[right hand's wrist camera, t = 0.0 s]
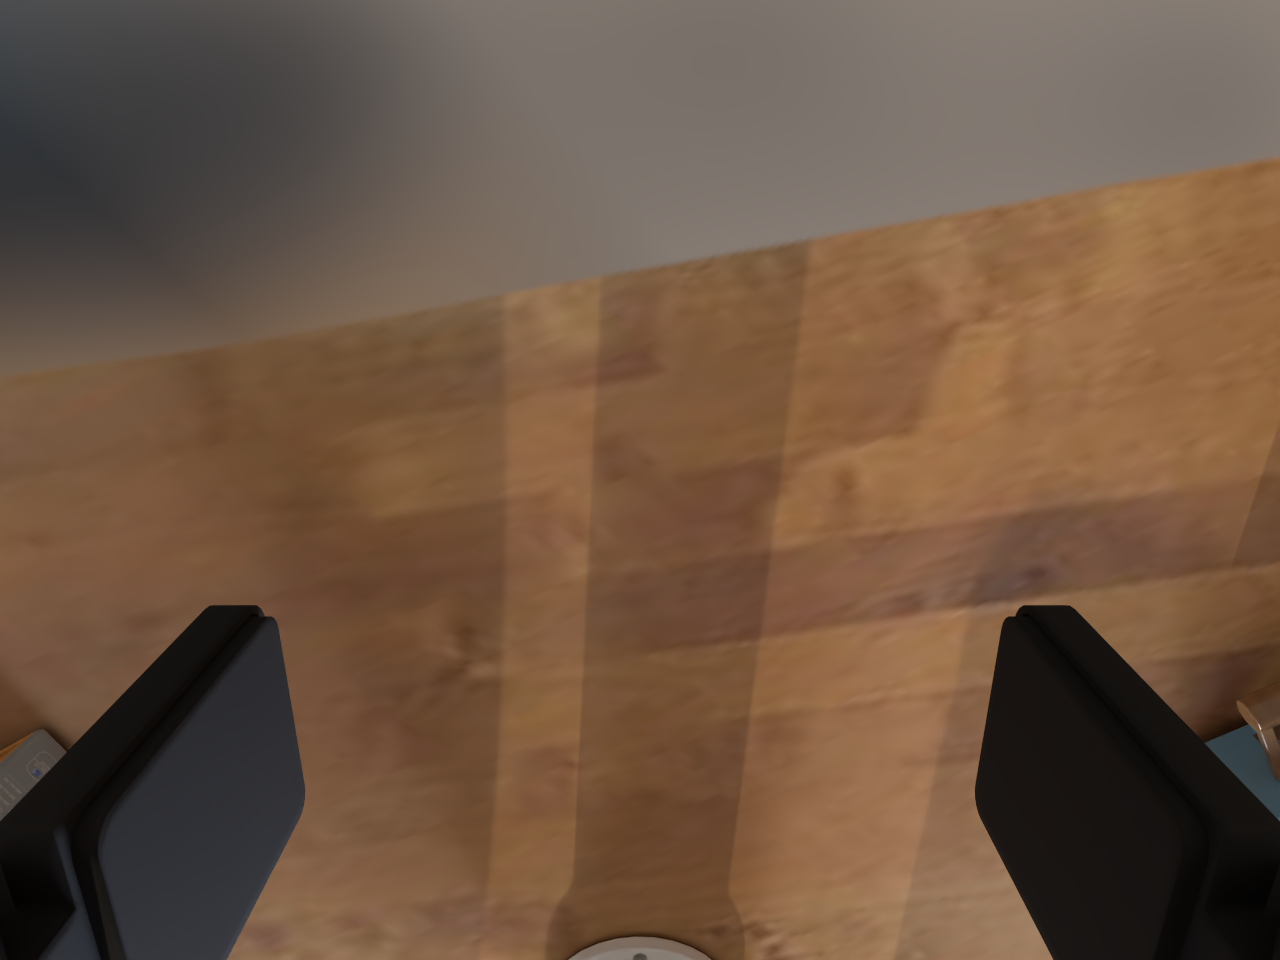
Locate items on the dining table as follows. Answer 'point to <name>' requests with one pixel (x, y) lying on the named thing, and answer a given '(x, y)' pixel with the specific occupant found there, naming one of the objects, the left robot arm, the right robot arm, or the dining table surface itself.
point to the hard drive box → (25, 766)
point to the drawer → (1255, 746)
